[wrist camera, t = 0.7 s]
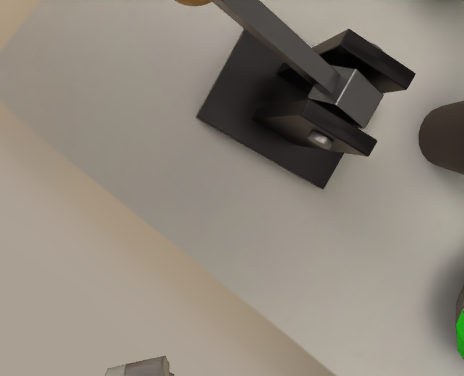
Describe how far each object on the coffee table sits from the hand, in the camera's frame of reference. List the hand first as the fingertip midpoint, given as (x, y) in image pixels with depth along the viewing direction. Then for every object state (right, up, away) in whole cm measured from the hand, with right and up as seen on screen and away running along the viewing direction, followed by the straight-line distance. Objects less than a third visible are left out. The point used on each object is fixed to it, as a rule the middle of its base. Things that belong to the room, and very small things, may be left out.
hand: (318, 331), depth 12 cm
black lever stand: (+2, +11, +24) cm, 27 cm away
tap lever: (-1, +12, +11) cm, 16 cm away
